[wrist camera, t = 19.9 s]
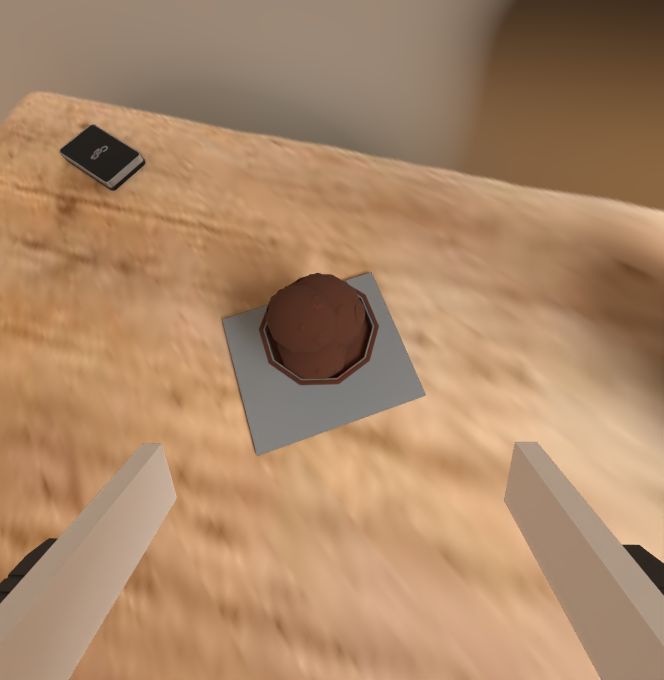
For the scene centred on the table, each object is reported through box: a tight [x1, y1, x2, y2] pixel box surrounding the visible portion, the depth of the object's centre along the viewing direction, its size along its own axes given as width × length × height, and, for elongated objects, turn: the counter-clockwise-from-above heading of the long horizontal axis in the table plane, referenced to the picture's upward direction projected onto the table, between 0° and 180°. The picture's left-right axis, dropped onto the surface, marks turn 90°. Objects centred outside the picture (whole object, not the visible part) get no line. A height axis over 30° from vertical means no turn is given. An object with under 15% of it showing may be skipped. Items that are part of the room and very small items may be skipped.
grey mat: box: [222, 272, 426, 456], centre depth 40 cm, size 20×17×1 cm
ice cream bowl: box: [259, 273, 379, 385], centre depth 32 cm, size 11×11×15 cm
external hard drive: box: [59, 124, 145, 190], centre depth 50 cm, size 7×11×2 cm, turn 55°
